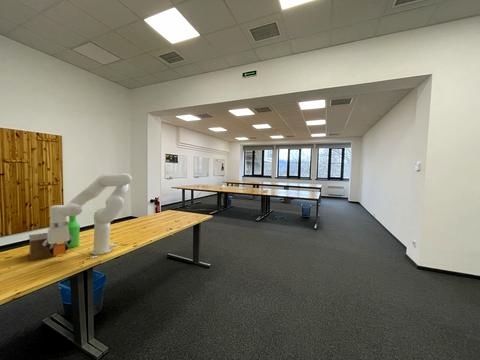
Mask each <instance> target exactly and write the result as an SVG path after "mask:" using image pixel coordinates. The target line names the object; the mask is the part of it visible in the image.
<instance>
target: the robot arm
mask: <svg viewBox="0 0 480 360" xmlns="http://www.w3.org/2000/svg"><path fill="white" fill-rule="evenodd" d="M132 181H133V177H132V175H131V174H129V173H125V172H124V173H123V172H122V173H117V174H114V173H113V174H101V175H99V176H98V177H97V178H96V179H95V180H94V181H92V182H91V184H89V185H88V186H87V187H86V188H84V189H83V190H82V191H81V192H79V193H78V194H77V195H76V196H74V197H73V198H72V199H71V200H70V201H69V202H68V203H67V204H66V205H65V204H55V205H51V206H50V207H49V225H50V226H49V227H48V229H47V233H48V235H47V239H46V240H45V241H44V242H43V243H42V245H43V246H46V247H48V248H50V254H52V255H53V245H54V244H55V243H57V244H61V243H65V253H66V252H67V251H69V248H68V244H69V243H70V242H71V241H72V240H74V238H73V237H72V236H70V235H69V229H68V225H67V224H69V221H67V217H69V216H76V217H77V216H79V215H81V213H82V212H83V208H82V207H83V206H84V205H85V204H86V203H88V202H89V201H91V200H93V199H96V198H97V197H98V196H99V195H100V194H101V193H102V192H103V191H104V190H105V189H107V187H109V188H110V187H115V188H114V190H113V191H112V193H111V194H110V195H109V196H108V197H107V198H106V200H105V207H100V208H98V209H96V210H95V211H94V214H93V223H94V227H93V249H91V250H90V254H91V255H94V256H96V255H105V254H108V253H111V251H112V250H113V248H115V247H118V244H117V243H110V241H111V222H113V221H114V220H115V219H116V217H117V216H118V215H119V214H120V212H121V211H122V209H123V208H124V206H125V200H124V198H125V197H126V196H127V194H128V192H129V188H130V184H131V183H132ZM69 238H70V240H69ZM68 240H69V241H68ZM67 241H68V242H67ZM47 242H48V244H50V245H48V244H46V243H47Z"/></svg>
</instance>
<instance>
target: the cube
mask: <svg viewBox="0 0 480 360" xmlns="http://www.w3.org/2000/svg"><path fill="white" fill-rule="evenodd" d="M64 254H66V252H65V244H64V242H60V243H57V244H55V245H53V255H54V256H55V255H57V256H59V255H64ZM55 257H56V256H55Z"/></svg>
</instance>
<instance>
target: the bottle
mask: <svg viewBox="0 0 480 360" xmlns="http://www.w3.org/2000/svg"><path fill="white" fill-rule="evenodd" d="M68 222H69V224H67V225H68V229H69V235H70V236H72V237H73V238H74V240H72V241H71V242H70V243H69V244H68V249H73V248H76V247H78V246H79V245H80V227H81V226H80V224H79V223H78V222H77V215H76V216H68ZM69 240H70V238H69ZM69 240H68V241H69ZM68 241H67V242H68ZM63 243H64V242H63ZM64 244H65V243H64Z"/></svg>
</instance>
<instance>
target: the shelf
mask: <svg viewBox="0 0 480 360" xmlns="http://www.w3.org/2000/svg"><path fill="white" fill-rule="evenodd" d="M47 235H48V232H42V233H36V234H35V233H34V234H29V235H28V237H29V251H28V255H29V261H30V262H33V261H39V260H44V259H45V260H46V259H50V258H55V257H57V256H58V255H55V256H54V255H52V254H50V248H48V247H46V246H43V245H42V243H43V242H44V241H45V240H46V239H47ZM46 244H48V242H47V243H46ZM55 244H58V243H55ZM55 244H54V245H55ZM48 245H50V244H48Z"/></svg>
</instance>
